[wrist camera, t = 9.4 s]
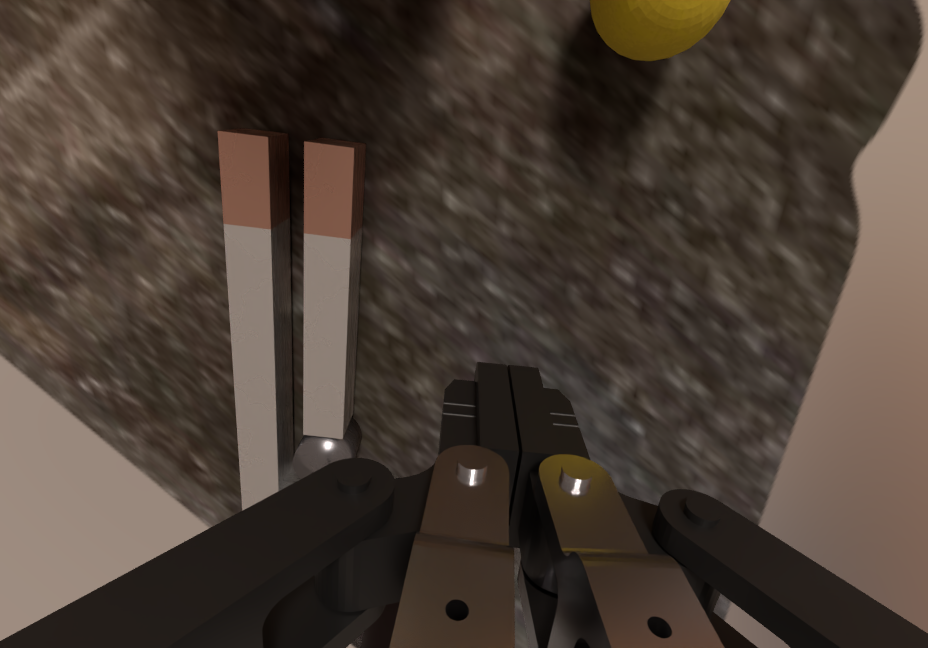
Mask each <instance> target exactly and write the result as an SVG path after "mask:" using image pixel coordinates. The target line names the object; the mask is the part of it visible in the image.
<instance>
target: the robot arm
mask: <svg viewBox="0 0 928 648" xmlns="http://www.w3.org/2000/svg"><path fill="white" fill-rule="evenodd" d="M574 415H575V414H574V411H573V408H572V405H571V402H570V401H569V400H568V399H567V398H566V397H565V396H564V395H563V394H562V393H561V392H560V391H559V390H558V389H548V388H543V384H542V380H541V376H540V373H539V369H538V368H534V367H524V366H514V365H508V367H507V365H503V364H493V363H483V362H477V365H476V371H475V379H474V381H466V380H455V379H454V380H453V381H452V383H451V384H450V385H449V386H448V387H447V388H446V389H445V394H444V403H443V413H442V422H441V432H440V441H439V452H438V457H437V459H436V461H435V463H434V465H433V466H432V467H430V468H429V469H428V470H426V471H424V472H422V473H420V474H417V475H414V476H410V477H404V478H397V479H394V477H393V475H392V473H391V472H390V471H389V469H388V468H386V467H385V466H384V465H382V464H380V463H379V462H376V461H373V460H370V459H364V458H347V459H342V460H338V461H335V462H333V463H330V464H328V465H326V466H325V467H323V468H321V469H319V470H317V471H315V472H313V473H312V474H310V475H308V476H306V477H304V478H302V479H300V480H299V481H297V482H295V483H293V484H291V485H289V486H287V487H286V488H284V489H282V490H280V491H278V492H276V493H274V494H273V495H271V496H269V497H267V498H265V499H263V500H261V501H260V502H258V503H256V504H254V505H252V506H250V507H248V508H247V509H245V510H243V511H241V512H239V513H237V514H235V515H234V516H232V517H230V518H228V519H226V520H224V521H222V522H221V523H219V524H217V525H215V526H213V527H211V528H209V529H208V530H206V531H204V532H202V533H200V534H198V535H196V536H195V537H193V538H191V539H189V540H187V541H185V542H184V543H182V544H180V545H178V546H176V547H174V548H172V549H170V550H169V551H167V552H165V553H163V554H161V555H159V556H157V557H156V558H154V559H152V560H150V561H148V562H146V563H145V564H143V565H141V566H139V567H137V568H135V569H133V570H132V571H130V572H128V573H126V574H124V575H122V576H121V577H118V578H117V579H115V580H113V581H111V582H109V583H107V584H106V585H104V586H102V587H100V588H98V589H96V590H94V591H92V592H91V593H89V594H87V595H85V596H83V597H81V598H80V599H78V600H76V601H74V602H72V603H70V604H68V605H67V606H65V607H63V608H61V609H59V610H57V611H55V612H53V613H52V614H50V615H48V616H46V617H44V618H42V619H40V620H39V621H37V622H35V623H33V624H31V625H29V626H28V627H26V628H24V629H22V630H20V631H18V632H16V633H15V634H13V635H11V636H9V637H7V638H5V639H3V640H2V641H0V648H346V647H347V646H348V645H349V644H351V643H352V642H353V641H354V640H355V639H356V638H357V637H358V636H360V635H361V634H362V633H363V632H364V631H365V630H366V629H367V628H369V627H370V626H371V625H372V624H373V623H374V622H375V621H376V620H377V619H378V618H379V617H380V616H381V614H382V613H383V611H384V608H385V606H386V605H388V604H392V603H397V602H400V603H399V608H398V612H397V617H396V621H395V625H394V630H393V634H392V638H391V643H390V647H389V648H515V579H514V548H513V547H515V548H520V552H521V561H520V567H519V572H518V578H517V582H518V589H519V594H520V599H521V605H522V610H523V615H524V621H525V626H526V631H527V637H528V642H529V647H530V648H757V647H756V646H755V645H754V644H753V643H751V642H750V641H749V640H747V639H746V638H745V637H744V636H743V635H741V634H740V633H739V632H738V631H736V630H735V629H734V628H733V627H731V626H730V625H729V624H728V623H726V622H725V621H724V620H723V619H721V618H720V617H719V616H718V615H716V614H715V613H714V612H713V611H714V608H715V606H716V603H717V601H718V599H719V596H720V594H723V595H724V596H725V597H727V598H728V599H729V600H730V601H732V602H733V603H735V604H736V605H737V606H738V607H740V608H741V609H742V610H744V611H745V612H746V613H747V614H749V615H750V616H752V617H753V618H754V619H755V620H757V621H758V622H759V623H761V624H762V625H763V626H764V627H766V628H767V629H768V630H770V631H771V632H772V633H774V634H775V635H776V636H778V637H779V638H780V639H782V640H783V641H784V642H785V643H786V644H788V645H789V647H790V648H928V633H926V632H924V631H923V630H921V629H920V628H918V627H917V626H915V625H913V624H912V623H910V622H909V621H907V620H906V619H904V618H903V617H901V616H899V615H898V614H896V613H895V612H893V611H892V610H890V609H888V608H887V607H885V606H884V605H882V604H881V603H879V602H877V601H876V600H874V599H873V598H871V597H869V596H868V595H866V594H865V593H863V592H862V591H860V590H858V589H857V588H855V587H854V586H852V585H851V584H849V583H847V582H846V581H844V580H843V579H841V578H839V577H838V576H836V575H835V574H833V573H832V572H830V571H828V570H827V569H825V568H824V567H822V566H821V565H819V564H817V563H816V562H814V561H813V560H811V559H809V558H808V557H806V556H805V555H803V554H802V553H800V552H799V551H797V550H795V549H794V548H792V547H791V546H789V545H787V544H786V543H784V542H783V541H781V540H780V539H778V538H776V537H775V536H773V535H771V534H770V533H769V532H767V531H765V530H764V529H762V528H761V527H759V526H758V525H756V524H754V523H753V522H751V521H750V520H748V519H746V518H745V517H743V516H742V515H740V514H739V513H737V512H735V511H734V510H732V509H731V508H729V507H728V506H726V505H724V504H723V503H721V502H720V501H718V500H716V499H714V498H712V497H710V496H708V495H706V494H703V493H700V492H697V491H692V490H686V489H676V490H671V491H668V492H666V493H665V494H664V495H663V496H662V497H661V499H660V502H659V505H658V506H656V505H653V504H650V503H647V502H644V501H640V500H637V499H634V498H631V497H628V496H626V495H624V494H621V493H619V492H618V491H617V489H616V487H615V485H614V483H613V481H612V479H611V477H610V476H609V474H608V473H607V472H606V471H605V470H604V469H603V468H602V467H601V466H599V465H598V464H596V463H595V462H593V461H591V460H590V458H589V455H588V452H587V449H586V446H585V443H584V440H583V437H582V434H581V432H580V429H579V428H578V423H577V420H576V417H574Z"/></svg>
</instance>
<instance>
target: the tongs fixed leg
mask: <svg viewBox="0 0 928 648" xmlns="http://www.w3.org/2000/svg"><path fill="white" fill-rule="evenodd" d="M218 145H219V160H220V175H221V191H222V206H223V221H224V236H225V252H226V267H227V282H228V297H229V313H230V328H231V343H232V358H233V374H234V389H235V404H236V419H237V435H238V450H239V465H240V480H241V496H242V511H243V510H245V509H247V508H248V507H250V506H252V505H254V504H256V503H258V502H260V501H261V500H263V499H265V498H267V497H269V496H271V495H273V494H274V493H276V492H278V491H280V490H282V489H284V488H286V487H287V486H289V485H291V484H293V483H295V482H297V481H299V480H300V478H299V477H298V476H297V474H296V472H295V470H294V468H293V392H292V325H291V258H290V191H289V134H288V133H280V132H272V131H264V130H255V129H247V128H239V129H229V130H220V131H218Z"/></svg>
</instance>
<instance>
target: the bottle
mask: <svg viewBox="0 0 928 648" xmlns="http://www.w3.org/2000/svg"><path fill="white" fill-rule="evenodd" d="M399 603H400V602H397V603H392V604H388V605H386V606H385V608H384V611H383V613H382V614H381V616H380V617H379V618H378V619H377V620H376V621H375V622H374V623H373V624H372V625H371V626H370V627H369V628H367V629H366V630H365V631H364V635H363V640H362V644H361V648H389V647H390V643H391V638H392V634H393V630H394V625H395V621H396V617H397V612H398V608H399Z"/></svg>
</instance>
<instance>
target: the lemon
mask: <svg viewBox="0 0 928 648" xmlns="http://www.w3.org/2000/svg"><path fill="white" fill-rule="evenodd" d="M729 2H730V0H590V6H591V14H592V19H593V22H594V24H595V27H596V29H597V32H598V34H599V35H600V36H601V38H602V39H603V40H604V42H605V43H606V45H608V46H609V47H610V48H611V49H613V50H614V51H615V52H617V53H618V54H620V55H622V56H625V57H627V58H630V59H632V60H641V61H655V60H660V59H665V58H669V57H672V56H674V55H676V54H678V53H680V52H683V51H685V50H687V49H689V48H690V47H691V46H693V45H694V44H695V43H696V42H698V41H699V40H700V39H701V38H703V37H704V36H705V35H706V34H707V33H708V32H709V31H710V30H711V29H712V27H713V26H714V25H715V24H716V22H717V21H718V20H719V19H720V18H721V16H722V15H723V13H724V11H725V9H726V7H727V6H728V4H729Z"/></svg>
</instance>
